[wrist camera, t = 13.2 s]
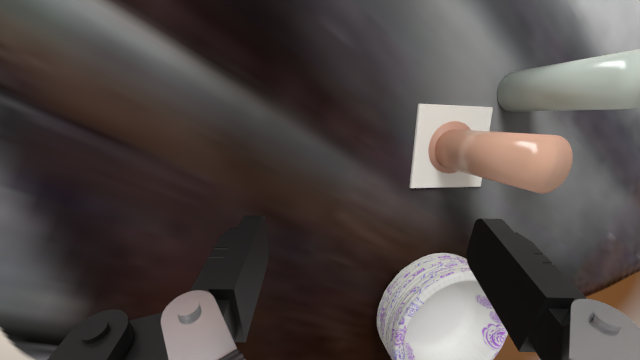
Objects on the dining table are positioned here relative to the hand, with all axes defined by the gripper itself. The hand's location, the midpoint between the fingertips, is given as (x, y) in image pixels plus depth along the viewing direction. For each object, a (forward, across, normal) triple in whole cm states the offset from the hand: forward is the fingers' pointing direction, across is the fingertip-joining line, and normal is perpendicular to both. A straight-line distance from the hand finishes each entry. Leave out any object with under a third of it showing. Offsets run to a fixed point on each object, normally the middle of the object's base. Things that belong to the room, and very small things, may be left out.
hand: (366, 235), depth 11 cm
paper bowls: (+19, -11, +25) cm, 33 cm away
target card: (+25, -13, +6) cm, 29 cm away
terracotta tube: (+24, -13, +6) cm, 28 cm away
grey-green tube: (+28, -21, 0) cm, 35 cm away
